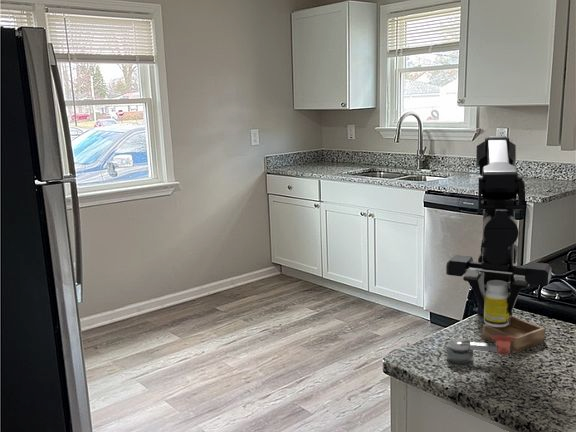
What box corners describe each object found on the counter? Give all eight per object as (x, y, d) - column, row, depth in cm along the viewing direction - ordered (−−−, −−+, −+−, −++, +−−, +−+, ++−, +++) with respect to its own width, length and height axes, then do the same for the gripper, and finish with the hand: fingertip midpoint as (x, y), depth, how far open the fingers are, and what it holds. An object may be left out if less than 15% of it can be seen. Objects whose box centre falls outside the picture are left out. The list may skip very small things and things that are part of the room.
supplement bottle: (511, 328, 110) (512, 287, 108) (485, 327, 111) (486, 286, 109) (506, 318, 114) (507, 279, 113) (482, 318, 115) (483, 278, 114)
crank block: (459, 351, 116) (459, 342, 115) (478, 360, 111) (478, 351, 111) (441, 357, 113) (441, 348, 113) (459, 367, 109) (460, 357, 109)
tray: (510, 328, 125) (510, 315, 125) (544, 341, 118) (545, 328, 117) (482, 337, 121) (482, 324, 121) (516, 352, 114) (516, 338, 113)
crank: (449, 352, 110) (449, 337, 110) (449, 343, 114) (449, 329, 114) (514, 357, 107) (515, 341, 107) (512, 348, 111) (513, 332, 110)
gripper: (556, 228, 111) (553, 303, 114) (460, 222, 120) (459, 292, 123) (549, 242, 101) (545, 323, 105) (445, 234, 111) (445, 309, 114)
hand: (496, 310), depth 112 cm, fingers closed on supplement bottle, 5 cm apart
